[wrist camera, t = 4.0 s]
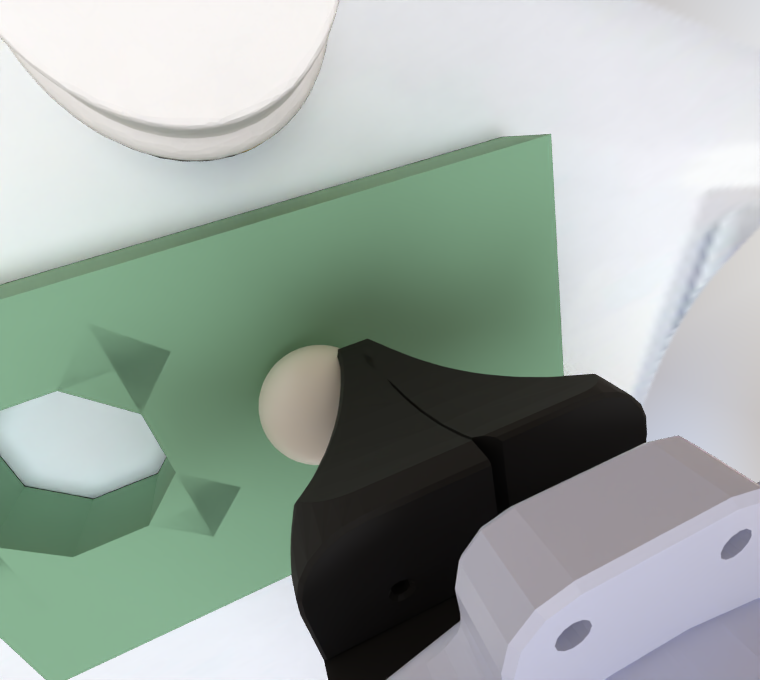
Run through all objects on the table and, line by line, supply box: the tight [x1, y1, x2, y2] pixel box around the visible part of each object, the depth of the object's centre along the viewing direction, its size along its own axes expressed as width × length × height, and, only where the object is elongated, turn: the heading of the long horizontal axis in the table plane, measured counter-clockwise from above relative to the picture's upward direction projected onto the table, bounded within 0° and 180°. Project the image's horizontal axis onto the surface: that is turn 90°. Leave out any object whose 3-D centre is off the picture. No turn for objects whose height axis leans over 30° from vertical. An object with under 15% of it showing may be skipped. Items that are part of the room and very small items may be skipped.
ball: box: [259, 345, 341, 465], centre depth 12 cm, size 3×3×3 cm
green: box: [0, 134, 564, 680], centre depth 15 cm, size 12×20×2 cm, turn 104°
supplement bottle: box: [0, 0, 339, 161], centre depth 8 cm, size 5×5×8 cm
